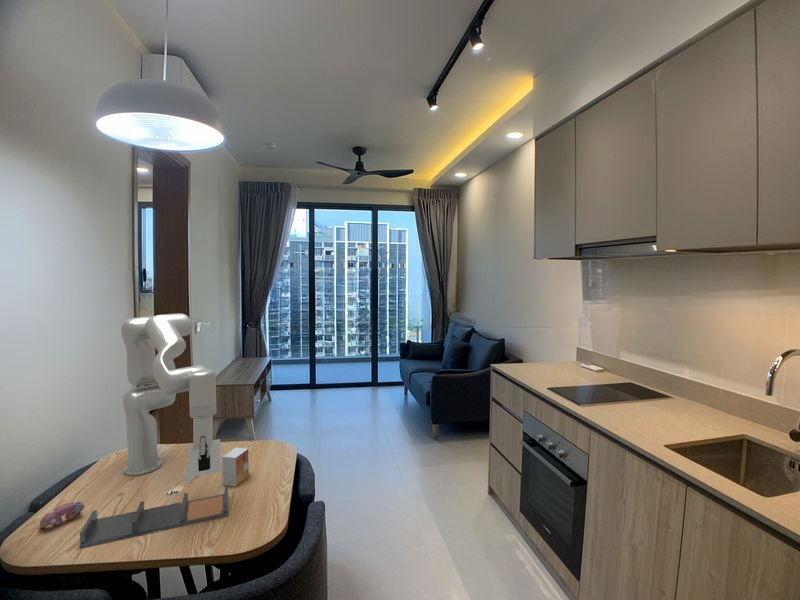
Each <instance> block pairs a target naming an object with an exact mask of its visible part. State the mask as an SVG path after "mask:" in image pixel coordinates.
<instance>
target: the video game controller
mask: <svg viewBox="0 0 800 600" xmlns="http://www.w3.org/2000/svg"><path fill="white" fill-rule="evenodd" d="M84 509H85V505H84V503H83V501H81V500H80V501H79V500H77V499H76V500H74V501H72V502H65V503H63V504H61V505H59V506H58V507H56V508H54V509H52V510H49V511H48V512H47V513H46V514H45V515H44V516H43V517H42V518H41V520H40V522H39V528H41V529H45V528H46V527H48V526H53V527H57V526H59V525H60V524H62V522H63V519H62V517H64V519H66V521H72V520H73V519H74V518H75V517H76V516H77V515H78V514H79V513H81V512H82V511H83V510H84Z"/></svg>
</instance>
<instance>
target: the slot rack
mask: <svg viewBox="0 0 800 600" xmlns="http://www.w3.org/2000/svg"><path fill="white" fill-rule="evenodd" d="M188 494H189V493H188V492H185V493H183V498H182V501H181V502H177V503H171V504H166V505H161V506H156V507H151V508H145V500H144V501H143V500H142V501H140V502H139V504H138V507H137V509H136V511H132V512H126V513H120V514H115V515H112V516H105V517H100V518H98V510H92V512H91V513H90V515H89V517H88V518H87V520H86V522H85V523H84V525H83V527H82V529H81V530H80V531H79V549H83V548H87V547H92V546H96V545H100V544H101V545H102V544H105V543H110V542H111V543H112V542H115V541H119V540H123V539H127V538H132V537H138V536H142V534H143V535H147V534H151V533H150V532H152V533H155V532H154V531H156V532H159V531H158V530H161V531H165V529H166V530H169V529H174V528H178V527H183V525H184V526H187V525H192V524H196V523H198V524H199V523H202V522H206V521H211V520H215V519H221V518H225V517H228V516H229V486H228V485H224V493H221V494H217V495H212V496H206V497H203V498H201V497H200V498H197V499H193V500H189V496H188ZM146 533H147V534H146Z"/></svg>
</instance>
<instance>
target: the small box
mask: <svg viewBox="0 0 800 600" xmlns="http://www.w3.org/2000/svg"><path fill="white" fill-rule="evenodd" d="M221 465H222V466H221V471H222V477H221V478H222V485H223V486H227V485H228V487H229V486H231V487H237V486H239V484H241V483H242V482H243V481H244V480H245V479H247V478H248V477H249V475H250V474H249V471H250V468H249V448H245V447H234V448H233V449H231V450H230V451H229V452H227V453H226V454H224V455H222V457H221Z"/></svg>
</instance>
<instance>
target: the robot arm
mask: <svg viewBox="0 0 800 600" xmlns="http://www.w3.org/2000/svg"><path fill="white" fill-rule="evenodd" d="M192 331H193V322H192V320H191V318H190V317H189V316H188V315H187V314H184V313H167V314H165V313H164V314H157V315H153V316H139V317H132V318H128V319H126V320H124V321H123V322H122V325H121V327H120V335H121V339H122V340H123V343H124V345H125V349H126V372H127V373H126V374H127V375H126V376H127V380H128V383H129V384H131V385H133V386H136V385H137V386H139V385H144V386H139V387H136V388H132V389H130V390H128V391H126V393H124V395H123V396H122V406H123V409H124V414H125V422H126V423H125V424H126V439H127V440H126V442H127V445H126V446H127V464H126V465H125V466H124V467H123V474H125V475H126V476H131V477H132V476H141V475H145V474H150V473H152V472H154V471H156V470H158V469H159V468H161V466H162V465H163V460H162V459H161V458H160V457H158V436H157V435H158V432H157V431H158V430H157V429H158V428H157V420H156V418H155V417H154V416H153V415H151V413H150V411H154V410H157V409H162V408H165V407H169V406H171V405H173V404H174V403H175V401H176V396H177V395H176V394H179V393H185V392H188V394H189V395H188V397H189V398H188V399H189V400H188V401H189V417H190V418H191V419H193V423H192V432H193V433H192V439H193V440H192V441H193V442H192V443H193V450H194V451H196V450H197V449H198V447H199V458H198V468H199V471H204V470H209V469H210V456H209V448H210V447H211V442H212V440H213V430H214V429H213V428H214V426H213V425H214V424H213V422H214V419H213V416H215V415H216V414H217V411H218V410H217V385H216V384H217V383H216V382H217V381H216V380H217V379H216V378H217V377H216V372H215V371H214V370H213V369H209V368H207V367H206V366H204V365H202V364H201V365H198V364H197V365H193V366H185V367H180V368H176V364H175V362H174V359H175V358H177V357H179V356H181V355H182V354H183V353H184V351H185V350H186V347H187V345H186V344H187V343H186V340H184V338H183V337H185V336H189V334H191V333H192ZM150 340H151V341H150ZM151 342H152V343H151ZM154 348H155V349H156V351H157V354H156V355H155V356H154V352H155V351H154ZM151 383H154V384H151ZM146 384H150V385H146ZM200 446H201V448H200ZM205 446H207V447H205ZM205 450H207V452H206V451H205Z"/></svg>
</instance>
